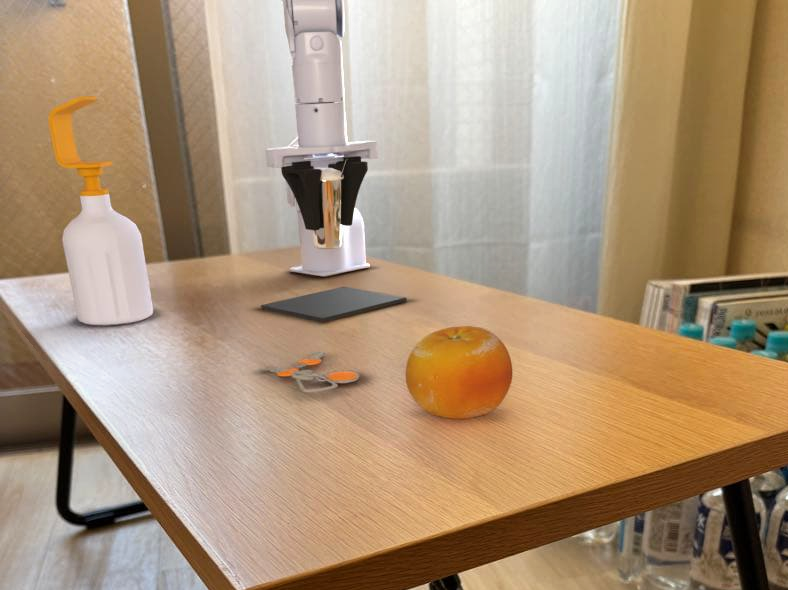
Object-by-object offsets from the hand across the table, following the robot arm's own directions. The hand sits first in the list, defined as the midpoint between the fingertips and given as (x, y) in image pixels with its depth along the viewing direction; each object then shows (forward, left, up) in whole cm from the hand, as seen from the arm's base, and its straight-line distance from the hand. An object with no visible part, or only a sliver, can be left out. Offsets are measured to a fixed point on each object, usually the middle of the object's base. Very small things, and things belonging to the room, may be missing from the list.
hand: (328, 227), depth 109 cm
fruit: (+21, +40, -10) cm, 46 cm away
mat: (0, 0, -9) cm, 9 cm away
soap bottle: (+21, -17, -10) cm, 29 cm away
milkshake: (0, 0, -3) cm, 3 cm away
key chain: (+22, +22, -9) cm, 32 cm away
